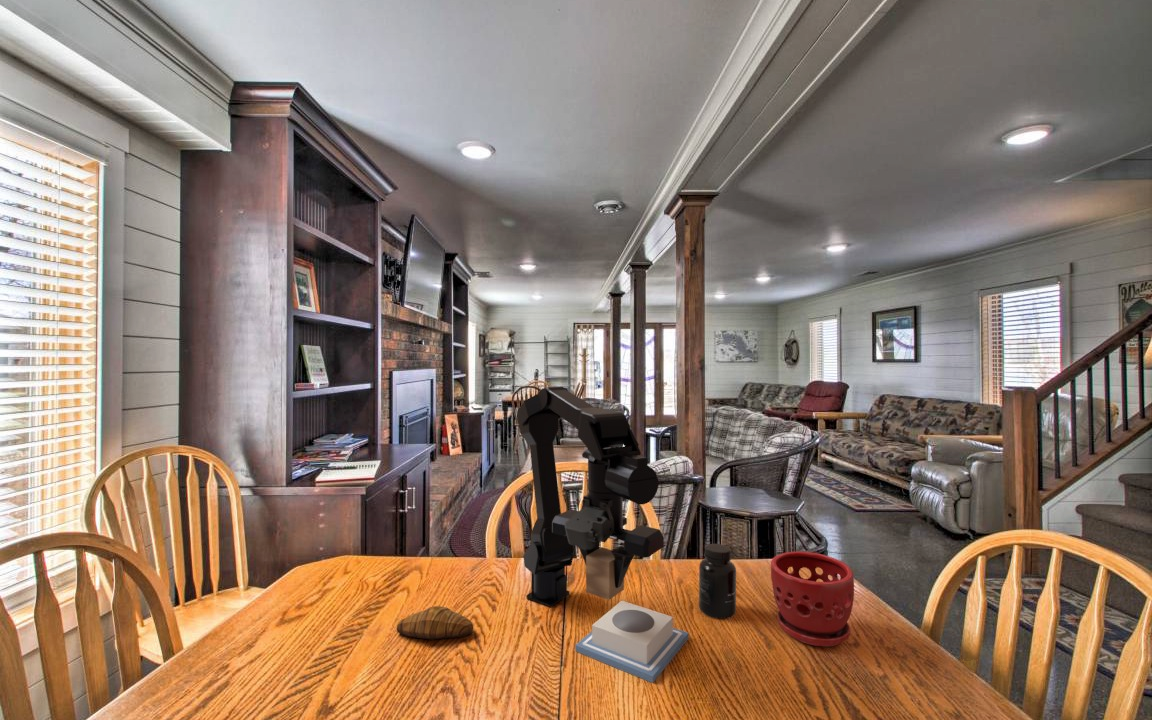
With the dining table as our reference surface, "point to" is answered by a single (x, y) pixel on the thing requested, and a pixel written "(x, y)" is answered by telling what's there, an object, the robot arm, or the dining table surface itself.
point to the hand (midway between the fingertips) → (605, 583)
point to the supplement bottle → (717, 582)
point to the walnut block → (601, 574)
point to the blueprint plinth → (634, 640)
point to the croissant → (435, 624)
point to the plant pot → (813, 597)
